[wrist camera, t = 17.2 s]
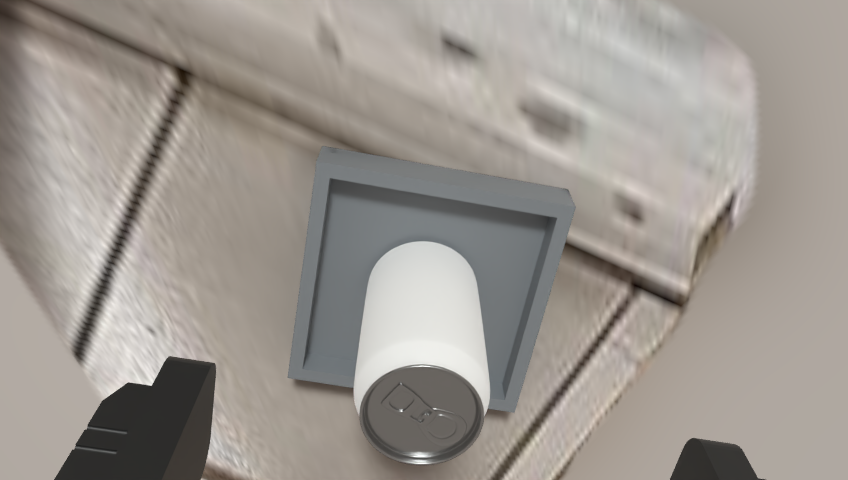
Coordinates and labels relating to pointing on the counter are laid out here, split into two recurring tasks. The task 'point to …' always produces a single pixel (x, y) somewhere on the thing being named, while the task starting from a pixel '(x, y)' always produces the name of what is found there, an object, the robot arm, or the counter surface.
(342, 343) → the bin
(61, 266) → the counter surface
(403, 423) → the can
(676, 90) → the counter surface
